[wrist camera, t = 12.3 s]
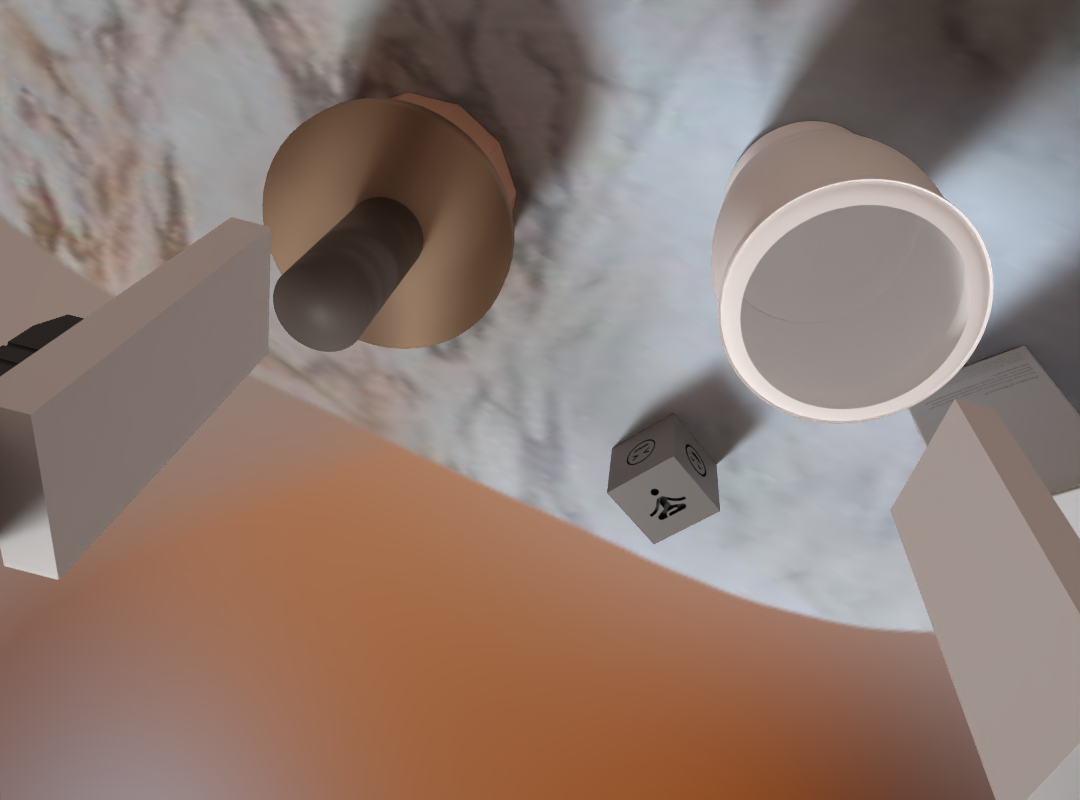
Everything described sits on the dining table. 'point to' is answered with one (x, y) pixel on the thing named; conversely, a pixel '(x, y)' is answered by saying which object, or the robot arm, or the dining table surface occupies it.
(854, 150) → the jar
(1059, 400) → the supplement box
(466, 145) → the lid
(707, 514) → the dice cube
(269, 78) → the dining table surface
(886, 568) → the dining table surface
